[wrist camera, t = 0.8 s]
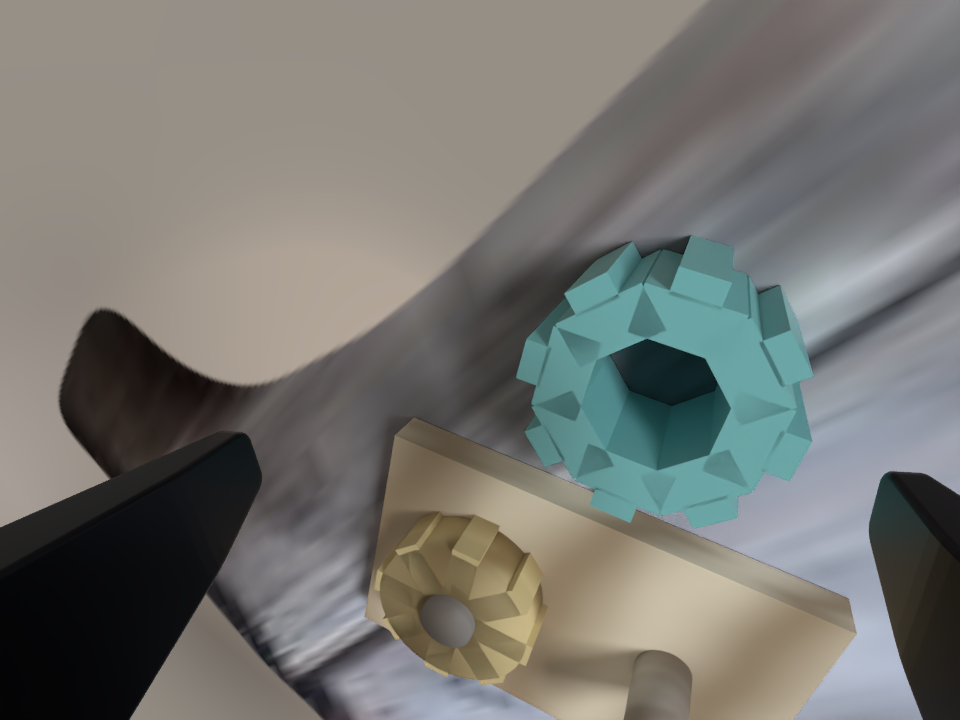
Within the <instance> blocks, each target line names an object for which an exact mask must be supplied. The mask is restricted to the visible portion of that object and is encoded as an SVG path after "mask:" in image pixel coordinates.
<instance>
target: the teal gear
mask: <svg viewBox="0 0 960 720" xmlns="http://www.w3.org/2000/svg"><path fill="white" fill-rule="evenodd" d="M733 254H734V247H730V246H727V245H723V244H720V243H717V242H713V241H710V240H706V239H703V238H699V237H696V236H692V235H691V237H690V240H689V242H688V245H687V247H686V250H685V252H684V255H682V254H678V253H675V252H672V251H668V250H665V249H663V251H661V249H660V250H658V251H656V252H654V253H652V254H650V255H648V256H646V257H644V258H641V256H640V254H639V252H638V250H637V248H636V247H635V245H634V243H633V241H631V242H630V243H628V244H626V245H624V246H622V247H620V248H618V249H616V250H614V251H612V252H610V253H608V254H606V255H605V256H603V257H601V258H599V259H597V260H596V261H595V262H594V263H593V264H592V265H591V266H590V267H589V268H588V269H587V270H586V271H585V272H584V273H583V274H582V275H581V277H580V278H579V279H578V280H577V281H576V282H575V283H574V284H573V285H572V286H571V287H570V288H569V289H568V290H567V291H566V292H565V293H564V294H565V296H566V298H567V299H565V298H564V299H563V301H562V302H561V303H560V304H559V305H558V306H557V307H556V308H555V309H554V310H553V311H552V312H551V313H550V314H549V315H548V316H547V318H546V319H545V320H544V321H543V322H542V323H541V324H540V325H539V326H538V327H537V328H536V329H535V330H534V331H533V332H532V334H531V335H530V336H529V337H528V338H527V339H526V342H525V346H524V350H523V353H522V357H521V361H520V365H519V368H518V372H517V376H516V378H517V379H520V380H523V381H525V382H528V383H531V384H533V385H536V389H535V392H534V396H533V399H532V402H531V404H532V409H533V410H534V412H535V414H536V415H535V416H534V418H533V419H532V421H531V422H530V424H529V425H528V427H527V428H526V430H525V431H524V432H525V434H526V436H527V438H528V439H529V441H530V443H531V444H532V446H533V448H534V450H535V451H536V453H537V455H538V456H539V458H540V460H541V462H542V463H543V465H544V467H547V466H550V465H553V464H555V463H558V462H561V461H563V463H564V464H565V466H566V468H567V470H568V471H569V473H570V475H571V477H572V478H573V479H574V478H576V479H575V481H577V482H579V483H582V484H584V485H587V486H589V487H591V488H594V489H595V491H594V494H593V497H592V499H591V502H590V505H589V506H592V507H594V508H596V509H599V510H601V511H603V512H606V513H608V514H611V515H613V516H615V517H618V518H620V519H622V520H625V521H627V522H629V523H630V522H631V520H632V518H633V515H634V513H635V511H636V508H637V507H639V508H642V509H644V510H647V511H649V512H651V513H654V514H656V515H659V514H660V513H661V515H662V516H663V515H667V514H671V513H675V512H678V511H682V510H683V511H684V513H685V515H686V517H687V519H688V520H689V522H690V524H691V526H692V528H693V529H694V528H698V527H703V526H707V525H711V524H715V523H719V522H724V521H728V520H732V519H736V518H738V496H741V495H745V494H748V493H752V490H753V491H754V490H755V488H756V486H757V484H758V483H759V481H760V479H761V477H762V475H763V473H764V472H765V473H768V474H770V475H773V476H776V477H778V478H781V479H784V480H786V481H789V482H790V480H791V478H792V476H793V475H794V473H795V471H796V469H797V468H798V466H799V464H800V462H801V461H802V459H803V457H804V455H805V453H806V452H807V450H808V448H809V446H810V445H811V443H812V439H811V435H810V430H809V426H808V421H807V416H806V412H805V407H804V403H803V398H802V394H801V389H800V385H799V381H802V380H804V379H807V378H810V377H813V373H812V369H811V366H810V362H809V359H808V355H807V351H806V348H805V344H804V341H803V337H802V334H801V330H800V327H799V323H798V321H797V319H796V317H795V314H794V312H793V310H792V308H791V306H790V304H789V302H788V300H787V298H786V296H785V294H784V292H783V290H782V288H781V286H780V285H779V286H777V287H774V288H772V289H769V290H767V291H765V292H762V293H760V294H758V293H757V291H756V289H755V287H754V285H753V283H752V281H751V279H750V277H749V276H747V274H745V273H742V272H739V271H735V270H733ZM645 339H650V340H653V341H656V342H659V343H662V344H664V345H667V346H670V347H673V348H676V349H679V350H682V351H685V352H688V353H691V354H694V355H697V356H700V357H703V358H705V359H706V361H707V363H708V365H709V367H710V369H711V370H712V372H713V374H714V376H715V378H716V380H717V382H718V385H717V387H716V389H715V391H713V392H710V393H708V394H705V395H702V396H699V397H696V398H693V399H691V400H688V401H685V402H682V403H679V404H676V405H674V406H670V405H667V404H665V403H662V402H659V401H656V400H654V399H651V398H648V397H646V396H643V395H640V394H637V393H635V392H632V391H629V389H628V387H627V385H626V384H625V382H624V380H623V378H622V376H621V374H620V373H619V371H618V369H617V367H616V365H615V363H614V362H613V360H612V358H611V356H610V354H612V353H614V352H617V351H619V350H621V349H624V348H626V347H628V346H631V345H633V344H636V343H638V342H640V341H643V340H645Z"/></svg>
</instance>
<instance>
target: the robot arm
mask: <svg viewBox="0 0 960 720" xmlns="http://www.w3.org/2000/svg"><path fill="white" fill-rule="evenodd" d="M261 483H262V472H261V469H260V466H259V463H258V460H257V457H256V454H255V451H254V449H253V446H252V443H251V440H250V438H249V437H248V436H247V435H246V434H245V433H243V432H233V431H221V432H217V433H215V434H213V435H210V436H208V437H206V438H203V439H201V440H199V441H197V442H194V443H192V444H190V445H188V446H185V447H183V448H181V449H178V450H176V451H174V452H172V453H169V454H167V455H165V456H162V457H160V458H158V459H156V460H153V461H151V462H149V463H146V464H144V465H142V466H140V467H137V468H135V469H133V470H130V471H128V472H126V473H124V474H121V475H119V476H117V477H114V478H112V479H110V480H108V481H105V482H103V483H101V484H98V485H96V486H94V487H92V488H89V489H87V490H85V491H83V492H80V493H78V494H76V495H73V496H71V497H69V498H66V499H64V500H62V501H60V502H57V503H55V504H53V505H51V506H48V507H46V508H44V509H42V510H39V511H37V512H35V513H32V514H30V515H28V516H25V517H23V518H21V519H19V520H16V521H14V522H12V523H9V524H7V525H5V526H3V527H0V720H130V718H131V716H132V715H133V713H134V711H135V710H136V708H137V706H138V705H139V703H140V702H141V700H142V698H143V697H144V695H145V693H146V692H147V690H148V688H149V687H150V685H151V683H152V682H153V680H154V678H155V677H156V675H157V674H158V672H159V670H160V669H161V667H162V665H163V664H164V662H165V660H166V659H167V657H168V655H169V654H170V652H171V650H172V649H173V647H174V645H175V644H176V642H177V641H178V639H179V637H180V636H181V634H182V632H183V631H184V629H185V627H186V626H187V624H188V622H189V621H190V619H191V617H192V616H193V614H194V613H195V611H196V609H197V608H198V606H199V604H200V603H201V601H202V599H203V598H204V596H205V594H206V593H207V591H208V589H209V588H210V586H211V585H212V583H213V581H214V579H215V578H216V576H217V574H218V572H219V571H220V569H221V567H222V565H223V563H224V561H225V559H226V557H227V555H228V553H229V551H230V549H231V547H232V545H233V543H234V541H235V539H236V537H237V535H238V532H239V530H240V528H241V526H242V524H243V522H244V520H245V518H246V516H247V514H248V512H249V510H250V508H251V506H252V504H253V502H254V500H255V497H256V495H257V493H258V491H259V489H260V487H261ZM869 538H870V543H871V547H872V551H873V555H874V559H875V563H876V567H877V571H878V575H879V579H880V583H881V587H882V591H883V595H884V598H885V602H886V606H887V610H888V614H889V618H890V622H891V626H892V630H893V634H894V638H895V642H896V645H897V649H898V652H899V656H900V659H901V662H902V665H903V668H904V671H905V674H906V676H907V679H908V682H909V685H910V687H911V690H912V692H913V695H914V698H915V700H916V703H917V705H918V708H919V711H920V713H921V716H922V718H923V720H960V495H958V494H957V493H955V492H954V491H952V490H951V489H949V488H947V487H946V486H944V485H943V484H941V483H940V482H938V481H936V480H935V479H933V478H932V477H930V476H928V475H926V474H923V473H912V472H895V471H890V472H888V473H886V474H884V475H883V477H882V478H881V481H880V484H879V487H878V491H877V495H876V499H875V503H874V507H873V510H872V514H871V518H870V522H869Z"/></svg>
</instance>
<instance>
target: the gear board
mask: <svg viewBox="0 0 960 720" xmlns="http://www.w3.org/2000/svg"><path fill="white" fill-rule="evenodd" d="M593 494H594V492H592V491H589V490H587V489H584V488H582V487H580V486H577V485H575V484H572V483H570V482H568V481H565V480H563V479H560V478H558V477H556V476H553V475H551V474H548V473H546V472H544V471H541V470H539V469H537V468H534V467H532V466H529V465H527V464H525V463H522V462H520V461H517V460H515V459H513V458H510V457H508V456H505V455H503V454H501V453H498V452H496V451H493V450H491V449H489V448H486V447H484V446H481V445H479V444H477V443H474V442H472V441H469V440H467V439H465V438H462V437H460V436H458V435H455V434H453V433H450V432H448V431H446V430H443V429H441V428H438V427H436V426H434V425H431V424H429V423H426V422H424V421H422V420H419V419H417V418H413V419H412V420H411V421H410V422H409V423H407V424H406V425H405V426H404V427H403V428H402V429H401V430H400V431H399V432H398V433H397V434H396V435H395V438H394V444H393V450H392V456H391V462H390V468H389V474H388V480H387V486H386V492H385V498H384V504H383V510H382V516H381V522H380V528H379V534H378V540H377V546H376V552H375V558H374V564H373V570H372V576H371V582H370V588H369V594H368V600H367V606H366V612H365V617H366V618H368V619H370V620H371V621H373V622H375V623H377V624H379V625H381V626H383V627H385V628H387V629H388V630H390V632H391V633H392V635H393V636H394V638H395V639H401V640H402V641H403V642H404V644H405V645H407V646H408V647H409V648H410V649H411V650H412V651H413V652H414V653H415V654H416V655H418V656H419V657H420V658H422V659H423V660H424V661H425V662H424V665H425V666H427V667H429V668H431V669H432V670H434V671H436V672H438V673H440V674H442V675H444V676H445V677H447V676H448V674H451V675H454V676H458V677H461V678H466V679H472V680H478V681H479V682H480V684H481V685H487V684H492V685H494V686H496V687H498V688H500V689H502V690H504V691H506V692H508V693H509V694H511V695H513V696H515V697H517V698H519V699H521V700H523V701H525V702H527V703H528V704H530V705H532V706H534V707H536V708H538V709H540V710H542V711H544V712H545V713H547V714H549V715H551V716H553V717H555V718H557V719H559V720H793V719H794V718H795V716H796V715H797V714H798V712H799V711H800V710H801V708H802V707H803V706H804V704H805V703H806V702H807V700H808V699H809V698H810V696H811V695H812V694H813V692H814V691H815V690H816V688H817V687H818V685H819V684H820V683H821V681H822V680H823V679H824V677H825V676H826V675H827V673H828V672H829V671H830V669H831V668H832V667H833V665H834V664H835V663H836V661H837V660H838V659H839V657H840V656H841V655H842V653H843V652H844V651H845V649H846V648H847V646H848V645H849V644H850V642H851V641H852V640H853V638H854V637H855V636H856V634H857V633H856V629H855V624H854V620H853V615H852V611H851V607H850V602H849V599H848V598H845V597H843V596H841V595H838V594H836V593H833V592H831V591H829V590H826V589H824V588H821V587H819V586H817V585H814V584H812V583H809V582H807V581H805V580H802V579H800V578H797V577H795V576H793V575H790V574H788V573H785V572H783V571H781V570H778V569H776V568H774V567H771V566H769V565H766V564H764V563H762V562H759V561H757V560H754V559H752V558H750V557H747V556H745V555H742V554H740V553H738V552H735V551H733V550H730V549H728V548H726V547H723V546H721V545H718V544H716V543H714V542H711V541H709V540H706V539H704V538H702V537H699V536H697V535H695V534H692V533H690V532H687V531H685V530H683V529H680V528H678V527H675V526H673V525H671V524H668V523H666V522H663V521H661V520H659V519H656V518H654V517H651V516H649V515H647V514H644V513H642V512H639V511H637V510H636V511H635V513H634V515H633V518H632V520H631V522H630V523H629V522H627V521H625V520H622V519H620V518H618V517H615V516H613V515H611V514H608V513H606V512H603V511H601V510H599V509H596V508H594V507H592V506H589V505H590V502H591V499H592V497H593Z"/></svg>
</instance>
